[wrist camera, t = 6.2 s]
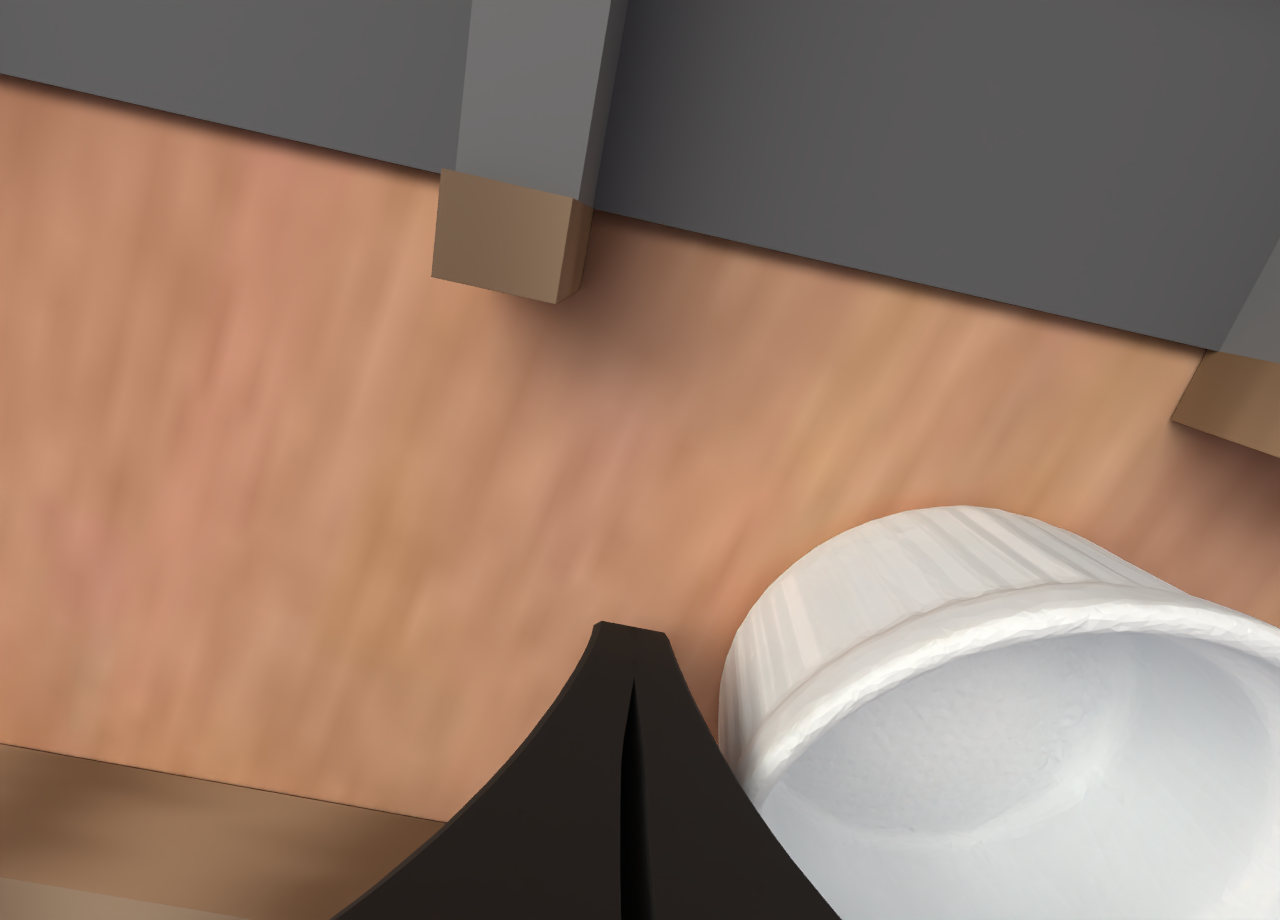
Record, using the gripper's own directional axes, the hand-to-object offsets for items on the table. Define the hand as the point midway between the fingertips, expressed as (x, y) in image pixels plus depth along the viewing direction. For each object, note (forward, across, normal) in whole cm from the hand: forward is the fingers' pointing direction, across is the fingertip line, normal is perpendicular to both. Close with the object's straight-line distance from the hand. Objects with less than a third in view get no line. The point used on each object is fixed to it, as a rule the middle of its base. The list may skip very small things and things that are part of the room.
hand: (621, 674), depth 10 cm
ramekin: (+2, -6, 0) cm, 6 cm away
